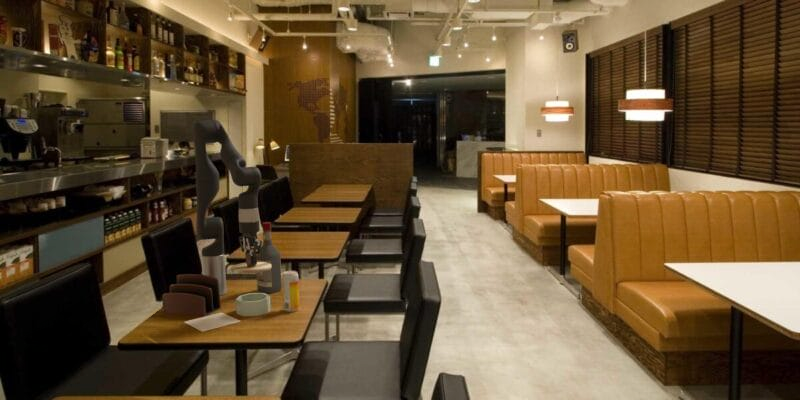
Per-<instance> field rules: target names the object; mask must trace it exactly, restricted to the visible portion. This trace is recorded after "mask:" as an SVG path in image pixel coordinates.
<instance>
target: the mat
mask: <svg viewBox="0 0 800 400" xmlns="http://www.w3.org/2000/svg"><path fill="white" fill-rule="evenodd" d="M240 322H242V321H241V320H239V319H237V318H235V317H233V316H230V315H229V314H226V313H224V312H218V313H215V314H214V313H213V314H209V315H207V316H200V317H198V318H194V319H189V320H186V321H184V323H185V324H187V325H188V326H191V327H192V328H195V329H197V330H198V331H200V332H206V331H210V330H213V329H218V328H221V327H225V326H229V325H233V324H236V323H240Z"/></svg>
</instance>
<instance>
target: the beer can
mask: <svg viewBox="0 0 800 400" xmlns="http://www.w3.org/2000/svg"><path fill="white" fill-rule="evenodd" d="M281 281H282V297H283V310H284V311H285V312H287V313H289V312H290V313H291V312H293V313H294V312H297V311H299V309H300V307H301V306H300V304H301V303H300V285H299V274H298V271H296V270H286V271H283V272H282V274H281Z"/></svg>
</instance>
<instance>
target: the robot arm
mask: <svg viewBox="0 0 800 400" xmlns="http://www.w3.org/2000/svg"><path fill="white" fill-rule="evenodd" d="M192 137H193V146H194V153H195V155H194V156H195V191H196V227H195V228H196V235H197V239H199V240H201V241H206V240H207V241H208V240H214V239H215V240H214V241H213V242H212V243H210V244H208V245H207V246H204V247H203V248H202V249H201V261H202V262H201V263H202V275H207V276H212V277H216V278H217V279H218V282H219V293H220V296H223V295H225V294H227V280H226V279H227V277H226V276H227V275H226V262H225V261H226V258H225V243H224V241H225V240H224V239H225V238H224V237H225V236H224V235H225V234H224V232H225V231H224V230H225V228H224V227H225V226H224V221H223V218H222V217H221V216H220V217H219V216H212V217H206V216H207V212H208V209H209V208H210V205H211V204H212V202H213V201H214V200H215V198H216V196H217V195H218V193H219V190H220V172H219V171H218V169H217V167H216V166H215V165H214V163H213V162H212V160H211V159H210V158H209V155H208V153H207V146H206V145H207V144H214V143H215V144H216V143H218V144H220V145H221V146H220V153H219V156H220V159H221V162H222V163H223V164H224V165H225V166H226V168H227V169H228V171H229V174H230V176H231V180H232V182H233V184H234V185H236V186H238V187H247V189H246V190H245V191H243V192H240V193H239V194H238V196H237V197H238V199H237V200H238V201H237V202H238V228H239V229H238V230H239V231H238V232H239V233H241V234H242V235H241V236H238V241H239V245H240V248H241V249H240V250H241V252H243V254H244V256H245V263H246V264H247V255H246V254H247V253H250V255H251V256H250V260H251V265H252V266H253V265H257V257H256V256H257V255H258V254H260V250H261V247H262V245H263V241H262V240H261V239H259V237H258V233H259V232H260V231H261V229H260V228H261V227H260V212H259V211H260V210H259V203H258V202H259V201H258V196H259V192H260V187H261V183H262V173H261V171H260V169H259V168H258V167H257V166H247V161H246V159H245V158H244V157H243V155H241V153H240V152H239V151H238V150H237V149H236V147H235V145H234V144H233V142H232V140H231V137H229V134H228V132H227V131H226V129H225V127H224V125H223V124H222V123H221V122H220V121H219V120H217V119H207V120H206V119H205V120H199V121H195V122H194V123H193V126H192Z"/></svg>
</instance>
